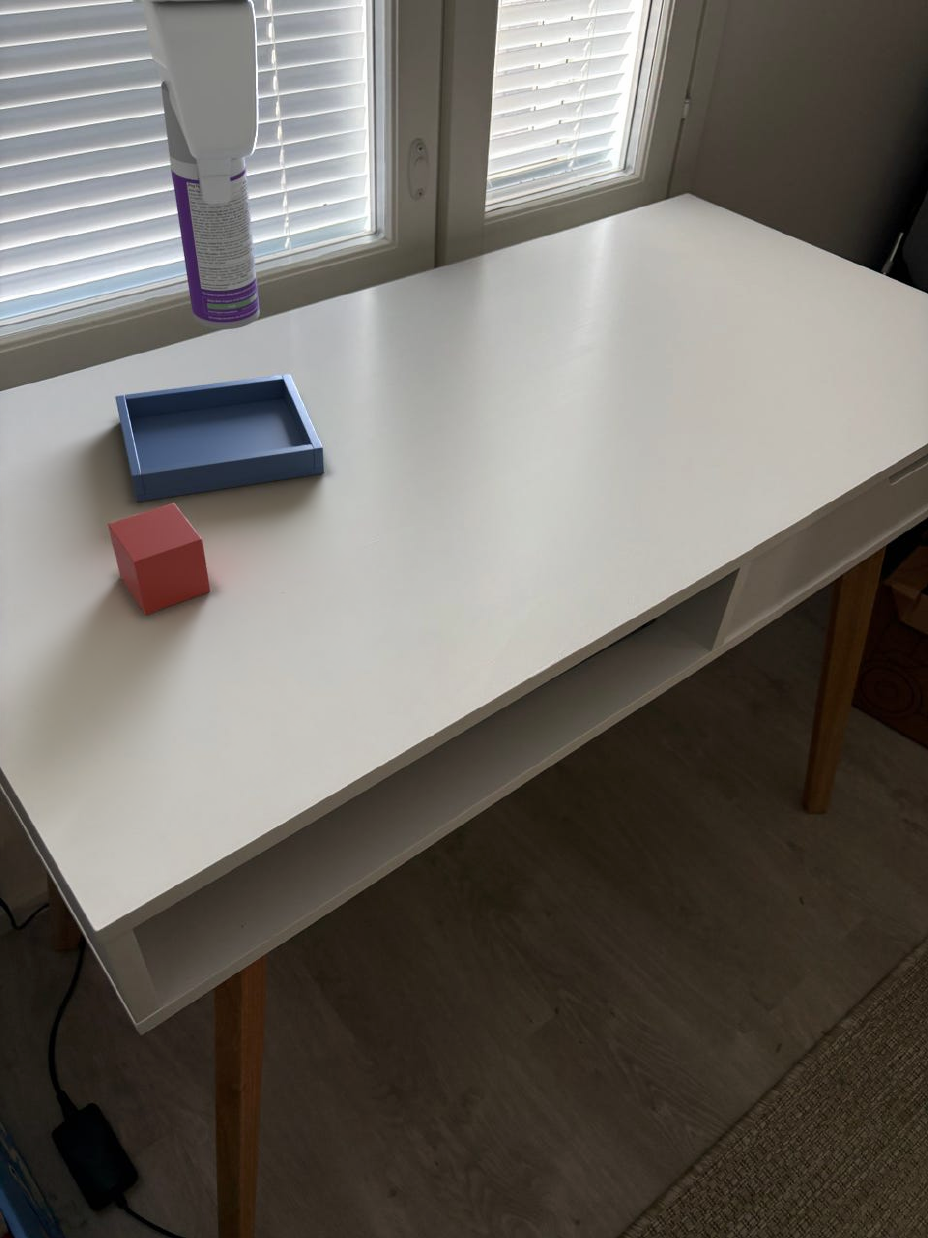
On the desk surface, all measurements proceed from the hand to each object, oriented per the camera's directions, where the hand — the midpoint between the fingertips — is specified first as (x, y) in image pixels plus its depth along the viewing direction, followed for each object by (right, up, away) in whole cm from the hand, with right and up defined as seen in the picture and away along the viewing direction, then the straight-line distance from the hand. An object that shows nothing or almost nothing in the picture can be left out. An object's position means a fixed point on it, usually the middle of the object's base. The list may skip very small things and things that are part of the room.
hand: (209, 182), depth 66 cm
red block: (-6, -26, +10) cm, 28 cm away
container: (0, -7, +6) cm, 9 cm away
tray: (-5, -13, +23) cm, 27 cm away
